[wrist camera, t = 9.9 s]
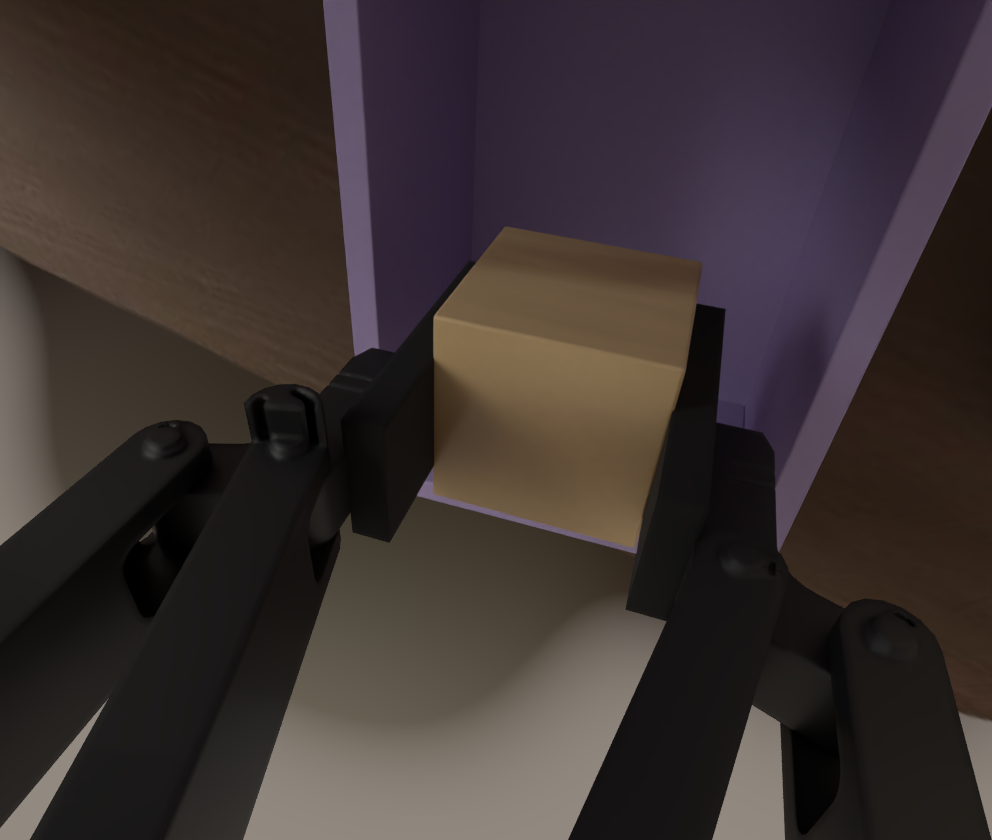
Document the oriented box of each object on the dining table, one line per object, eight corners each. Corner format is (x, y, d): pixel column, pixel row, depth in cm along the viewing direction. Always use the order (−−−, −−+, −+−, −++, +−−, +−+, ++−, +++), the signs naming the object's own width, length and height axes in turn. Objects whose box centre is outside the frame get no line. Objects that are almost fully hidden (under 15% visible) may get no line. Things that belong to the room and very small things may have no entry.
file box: (761, 414, 26) (762, 588, 20) (456, 348, 29) (365, 483, 22) (970, -138, 16) (1123, -165, 9) (467, -165, 18) (303, -203, 12)
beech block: (504, 224, 15) (432, 315, 12) (703, 261, 15) (686, 370, 11) (493, 384, 18) (431, 495, 15) (659, 423, 17) (634, 550, 14)
